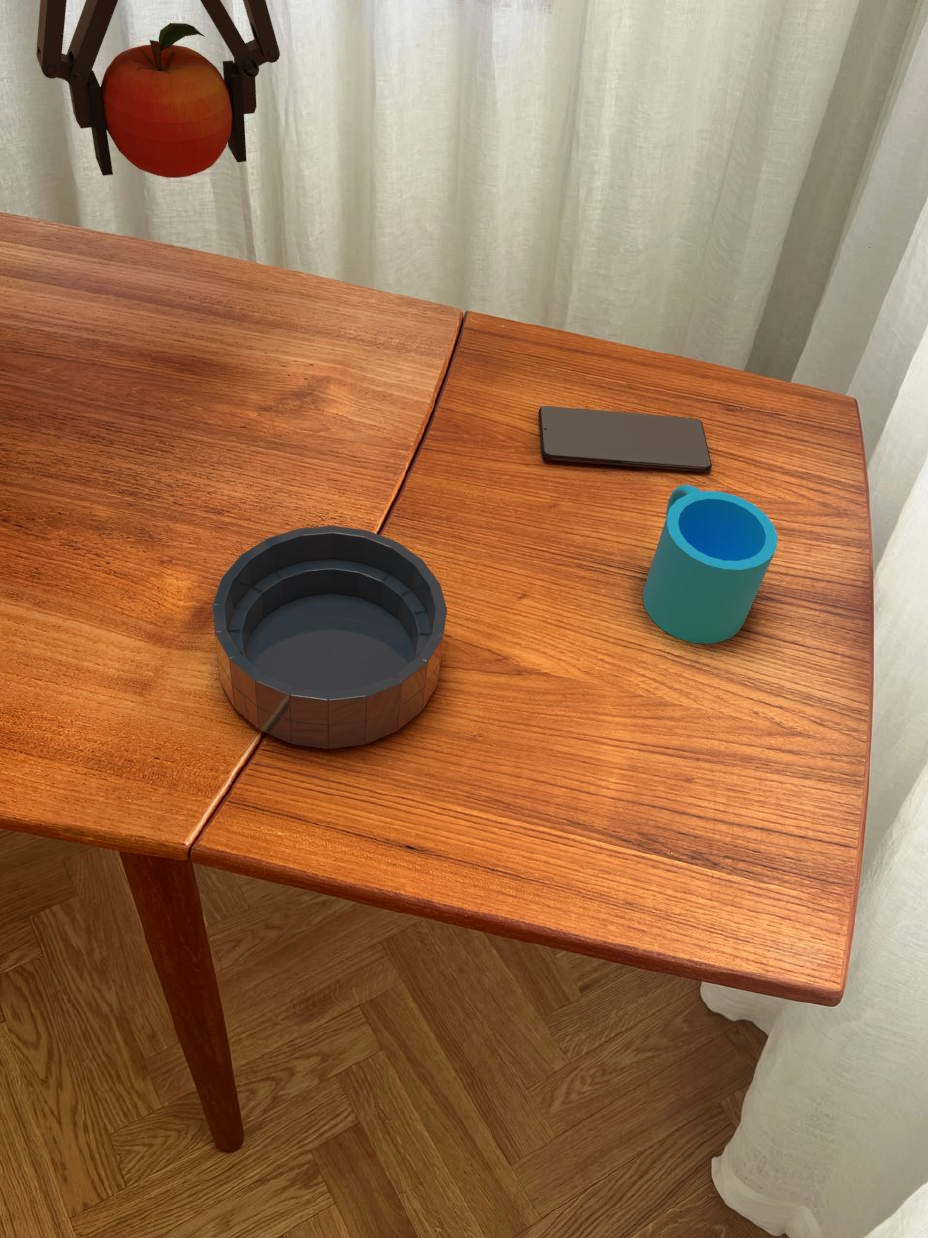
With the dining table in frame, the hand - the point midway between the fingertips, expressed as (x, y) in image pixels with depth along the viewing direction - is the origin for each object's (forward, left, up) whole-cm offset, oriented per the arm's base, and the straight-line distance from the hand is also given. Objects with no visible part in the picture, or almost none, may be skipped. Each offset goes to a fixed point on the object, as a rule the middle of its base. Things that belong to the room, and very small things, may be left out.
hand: (172, 159), depth 86 cm
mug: (+48, -4, -20) cm, 52 cm away
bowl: (+27, -24, -19) cm, 41 cm away
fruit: (0, 0, -1) cm, 1 cm away
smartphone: (+38, +10, -19) cm, 44 cm away
